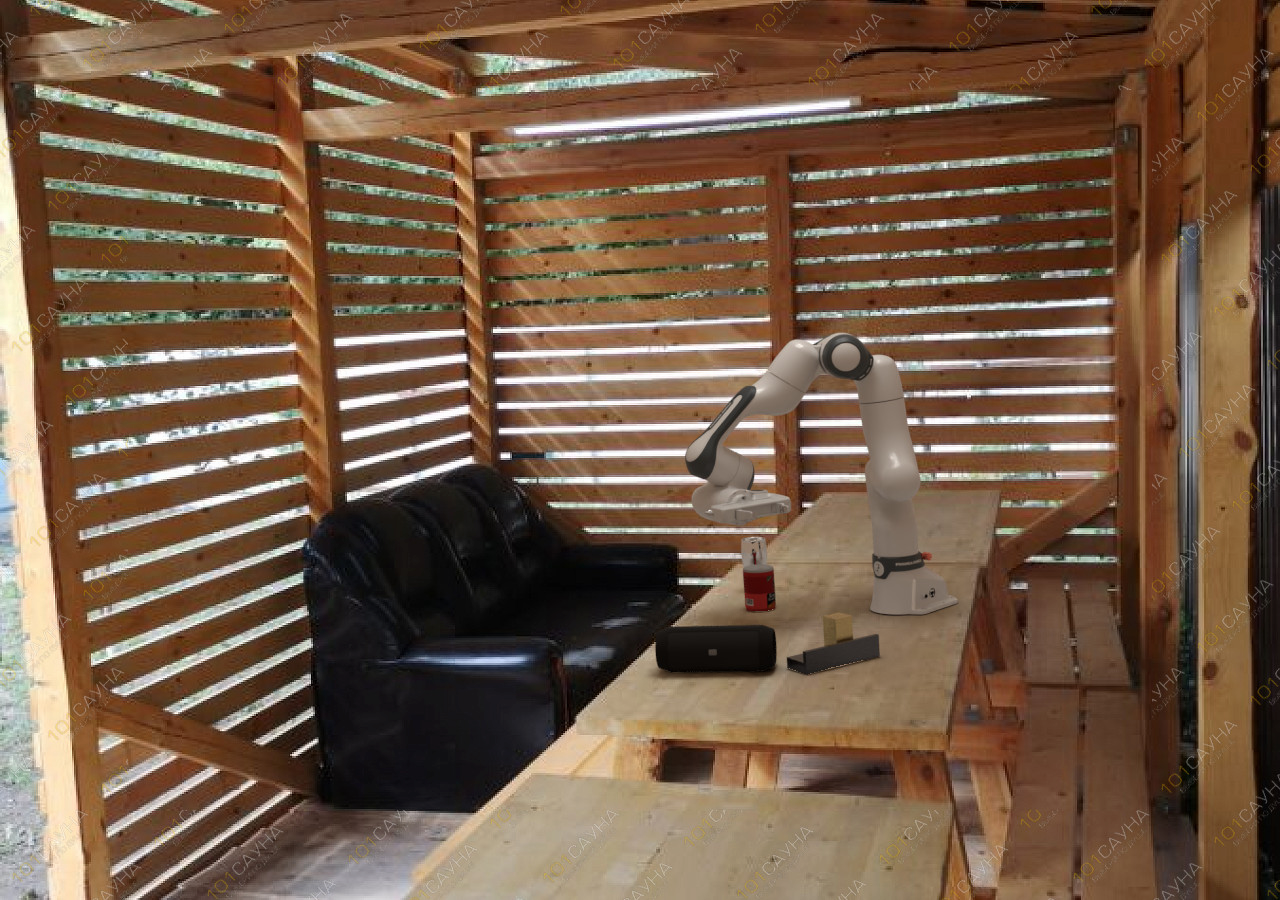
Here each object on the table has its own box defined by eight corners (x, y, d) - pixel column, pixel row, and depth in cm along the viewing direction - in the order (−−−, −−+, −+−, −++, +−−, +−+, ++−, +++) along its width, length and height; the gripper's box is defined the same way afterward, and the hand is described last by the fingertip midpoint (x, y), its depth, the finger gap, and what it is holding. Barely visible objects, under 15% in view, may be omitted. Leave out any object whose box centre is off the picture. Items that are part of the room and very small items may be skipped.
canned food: (774, 612, 344) (771, 569, 343) (743, 613, 346) (740, 570, 344) (777, 605, 351) (775, 563, 350) (747, 605, 353) (744, 564, 352)
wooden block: (841, 656, 298) (838, 612, 297) (854, 660, 295) (851, 615, 293) (825, 660, 296) (822, 616, 295) (838, 664, 292) (835, 619, 291)
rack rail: (787, 668, 292) (785, 646, 291) (859, 650, 302) (858, 629, 301) (806, 675, 286) (805, 652, 285) (879, 656, 296) (878, 634, 295)
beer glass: (752, 597, 363) (749, 542, 361) (739, 593, 369) (735, 539, 367) (774, 592, 366) (771, 538, 364) (760, 588, 372) (757, 535, 370)
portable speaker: (656, 678, 293) (653, 633, 292) (664, 665, 302) (661, 622, 301) (773, 676, 287) (770, 631, 286) (778, 663, 297) (775, 619, 296)
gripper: (699, 499, 322) (732, 505, 310) (769, 488, 332) (803, 493, 320) (701, 526, 322) (734, 532, 310) (771, 513, 332) (805, 519, 320)
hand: (770, 512), depth 315 cm, fingers open, 8 cm apart
